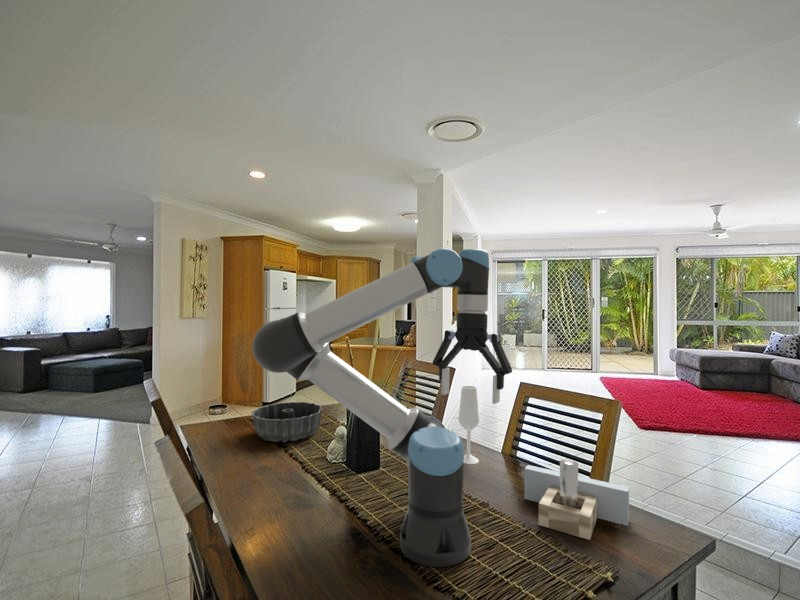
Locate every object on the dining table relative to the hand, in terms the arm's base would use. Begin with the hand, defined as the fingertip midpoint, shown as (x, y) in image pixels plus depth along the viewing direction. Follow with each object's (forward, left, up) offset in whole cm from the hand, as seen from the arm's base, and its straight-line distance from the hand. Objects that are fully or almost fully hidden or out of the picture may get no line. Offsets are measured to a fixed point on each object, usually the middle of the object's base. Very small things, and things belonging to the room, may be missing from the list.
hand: (469, 398), depth 102 cm
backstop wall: (+16, -22, -28) cm, 39 cm away
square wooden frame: (+9, -22, -28) cm, 36 cm away
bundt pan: (+15, +81, -28) cm, 88 cm away
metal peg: (+9, -22, -28) cm, 37 cm away
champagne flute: (+31, +13, -28) cm, 44 cm away
